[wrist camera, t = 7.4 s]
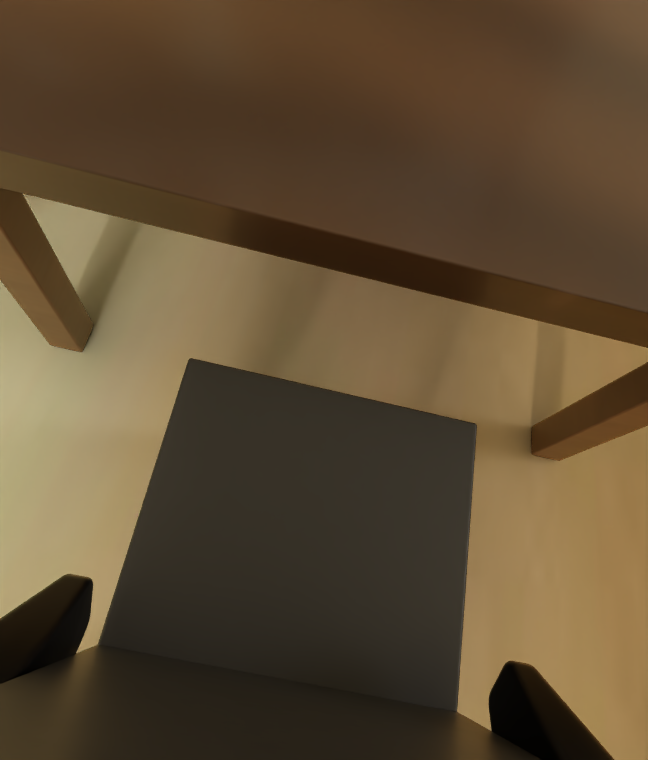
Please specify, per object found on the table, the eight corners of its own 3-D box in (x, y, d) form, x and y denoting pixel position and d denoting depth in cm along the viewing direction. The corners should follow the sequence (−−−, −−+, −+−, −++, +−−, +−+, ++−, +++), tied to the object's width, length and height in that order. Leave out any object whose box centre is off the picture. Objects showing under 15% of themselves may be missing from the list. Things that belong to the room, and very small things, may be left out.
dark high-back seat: (368, 699, 16) (1124, 1344, 2) (143, 657, 16) (-552, 1166, 2) (396, 479, 19) (823, 184, 5) (206, 437, 18) (110, -13, 5)
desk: (564, 468, 20) (849, 363, 11) (41, 350, 19) (-156, 110, 9) (563, 170, 26) (745, -63, 17) (169, 64, 25) (128, -255, 15)
